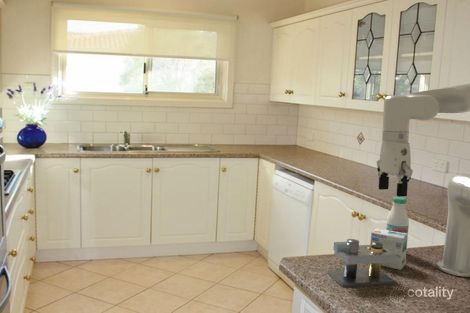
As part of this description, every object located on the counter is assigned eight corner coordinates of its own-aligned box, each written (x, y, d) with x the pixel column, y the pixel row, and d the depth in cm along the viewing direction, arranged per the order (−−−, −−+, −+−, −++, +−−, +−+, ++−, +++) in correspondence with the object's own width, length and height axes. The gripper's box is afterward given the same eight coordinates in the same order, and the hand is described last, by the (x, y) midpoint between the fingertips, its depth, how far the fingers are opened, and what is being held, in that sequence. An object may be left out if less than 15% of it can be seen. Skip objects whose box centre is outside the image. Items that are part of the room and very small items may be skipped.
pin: (376, 272, 149) (379, 241, 148) (382, 276, 146) (385, 245, 144) (366, 273, 148) (369, 241, 147) (372, 277, 145) (374, 245, 143)
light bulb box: (405, 264, 161) (408, 233, 159) (401, 270, 155) (404, 238, 153) (373, 257, 166) (376, 227, 165) (367, 263, 160) (370, 231, 159)
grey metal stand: (377, 271, 153) (380, 234, 151) (394, 284, 143) (398, 245, 142) (325, 273, 149) (328, 236, 147) (340, 287, 139) (343, 246, 138)
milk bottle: (378, 249, 174) (383, 195, 172) (396, 248, 177) (401, 195, 174) (392, 257, 167) (398, 200, 165) (410, 255, 170) (416, 200, 167)
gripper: (424, 139, 138) (420, 198, 140) (390, 133, 154) (387, 186, 157) (401, 140, 136) (397, 199, 138) (369, 134, 152) (366, 187, 155)
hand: (392, 192), depth 148 cm, fingers open, 9 cm apart
